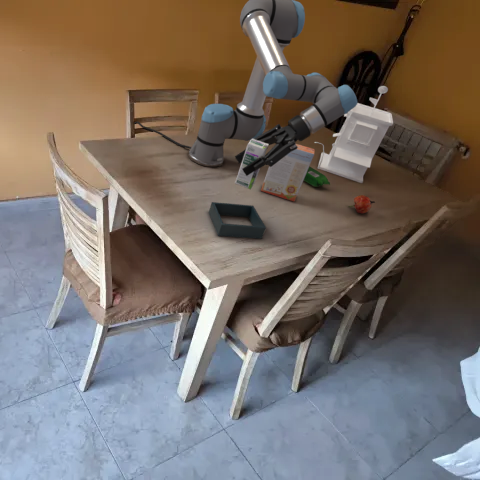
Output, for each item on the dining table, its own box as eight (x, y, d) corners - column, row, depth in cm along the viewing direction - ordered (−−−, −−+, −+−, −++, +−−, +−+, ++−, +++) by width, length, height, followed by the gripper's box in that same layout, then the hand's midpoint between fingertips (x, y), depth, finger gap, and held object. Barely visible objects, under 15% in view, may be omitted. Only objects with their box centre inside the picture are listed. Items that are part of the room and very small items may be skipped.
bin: (218, 235, 140) (221, 224, 138) (208, 212, 151) (211, 201, 148) (261, 238, 144) (266, 227, 141) (249, 216, 154) (253, 205, 152)
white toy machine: (363, 185, 196) (409, 99, 173) (304, 165, 202) (340, 79, 179) (363, 167, 215) (404, 87, 192) (309, 149, 221) (343, 69, 197)
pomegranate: (346, 216, 173) (372, 213, 166) (343, 198, 172) (369, 194, 165) (353, 213, 178) (378, 210, 171) (350, 195, 178) (375, 192, 171)
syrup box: (234, 183, 140) (247, 142, 131) (239, 177, 144) (252, 137, 136) (250, 190, 138) (265, 149, 130) (255, 183, 143) (269, 143, 134)
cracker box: (295, 196, 174) (315, 148, 162) (294, 202, 169) (315, 154, 157) (262, 185, 177) (279, 137, 164) (259, 191, 172) (277, 142, 160)
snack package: (318, 192, 182) (323, 181, 178) (290, 174, 191) (295, 163, 188) (328, 189, 185) (333, 179, 182) (300, 172, 195) (305, 161, 192)
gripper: (324, 148, 125) (255, 190, 131) (296, 120, 141) (236, 159, 147) (315, 129, 121) (244, 173, 127) (287, 102, 137) (226, 143, 143)
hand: (240, 166), depth 137 cm, fingers closed on syrup box, 8 cm apart
